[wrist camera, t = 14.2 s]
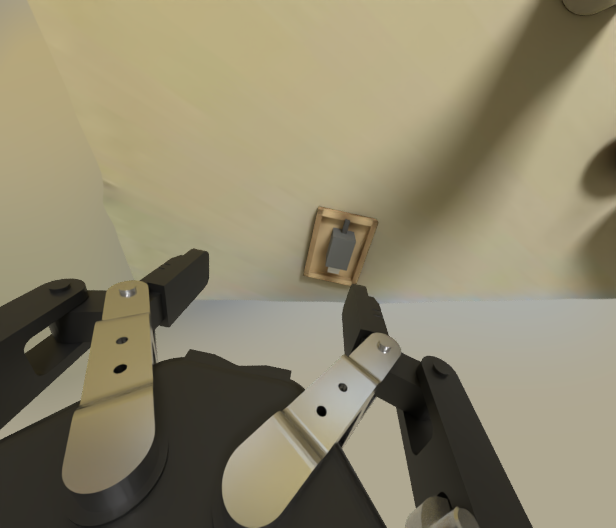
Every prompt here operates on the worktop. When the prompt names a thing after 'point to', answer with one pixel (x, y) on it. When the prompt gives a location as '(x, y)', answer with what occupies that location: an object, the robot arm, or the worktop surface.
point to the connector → (340, 248)
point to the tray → (321, 239)
